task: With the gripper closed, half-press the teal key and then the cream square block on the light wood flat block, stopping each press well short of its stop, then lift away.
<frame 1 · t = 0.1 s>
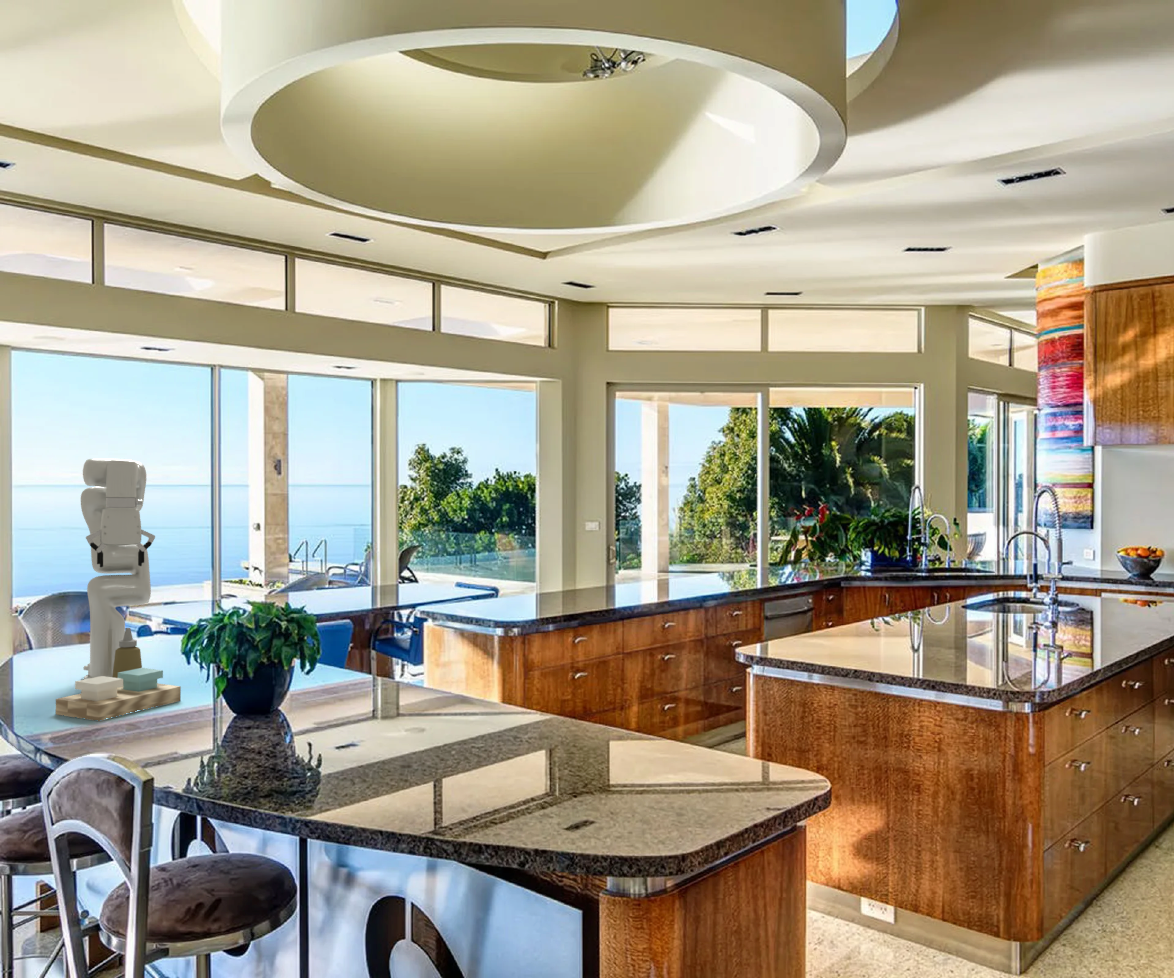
hand: (120, 566, 271), 37 cm above the kitchen island, tool pointing down, fingers open, 9 cm apart
squeeze bottle: (127, 690, 285), on the kitchen island
teal key: (140, 680, 269), point 6 cm above the kitchen island, slide at 0.0 cm
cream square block: (99, 689, 257), point 6 cm above the kitchen island, slide at 0.0 cm
light wood flat block: (120, 707, 263), on the kitchen island
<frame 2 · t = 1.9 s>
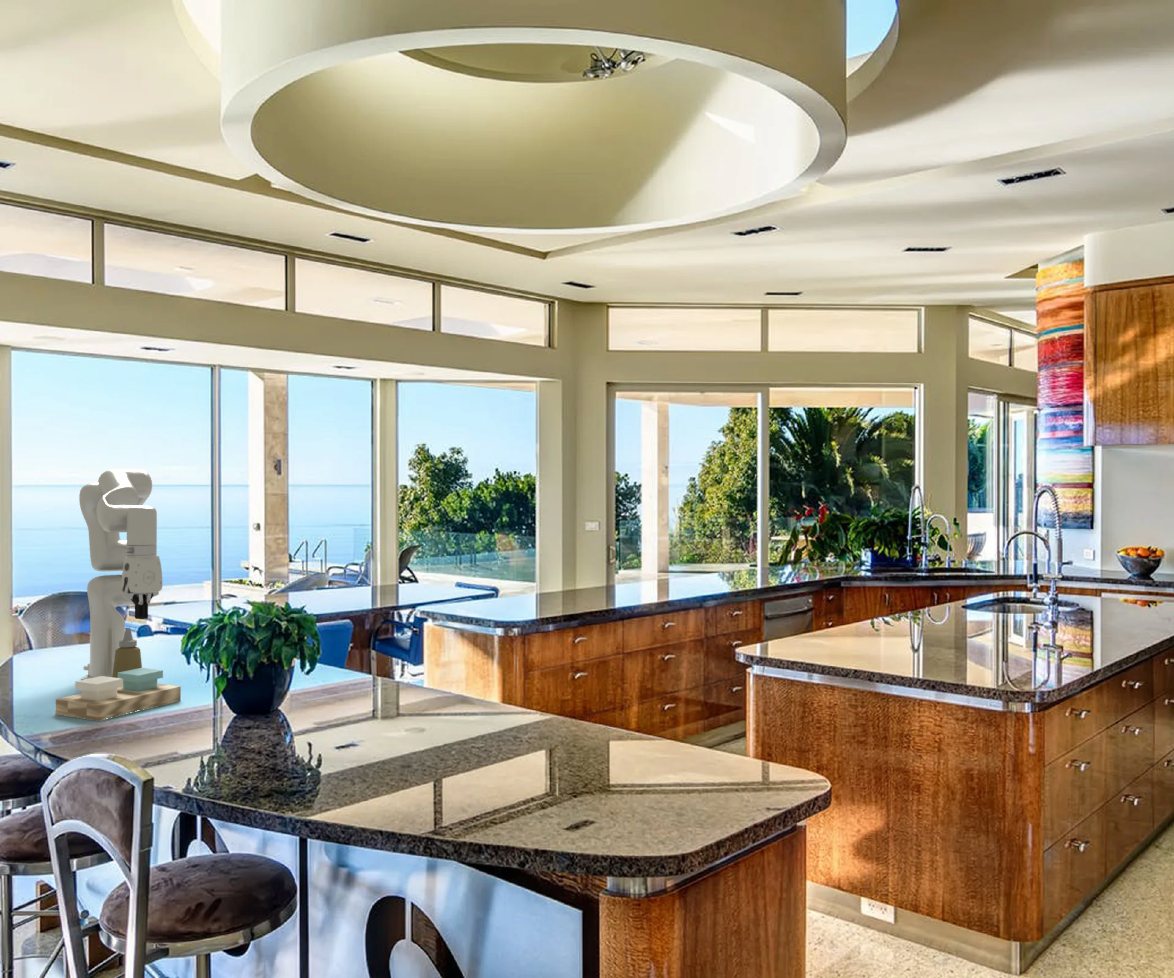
hand: (141, 618, 269), 23 cm above the kitchen island, tool pointing down, fingers closed
nothing on the kitchen island moved.
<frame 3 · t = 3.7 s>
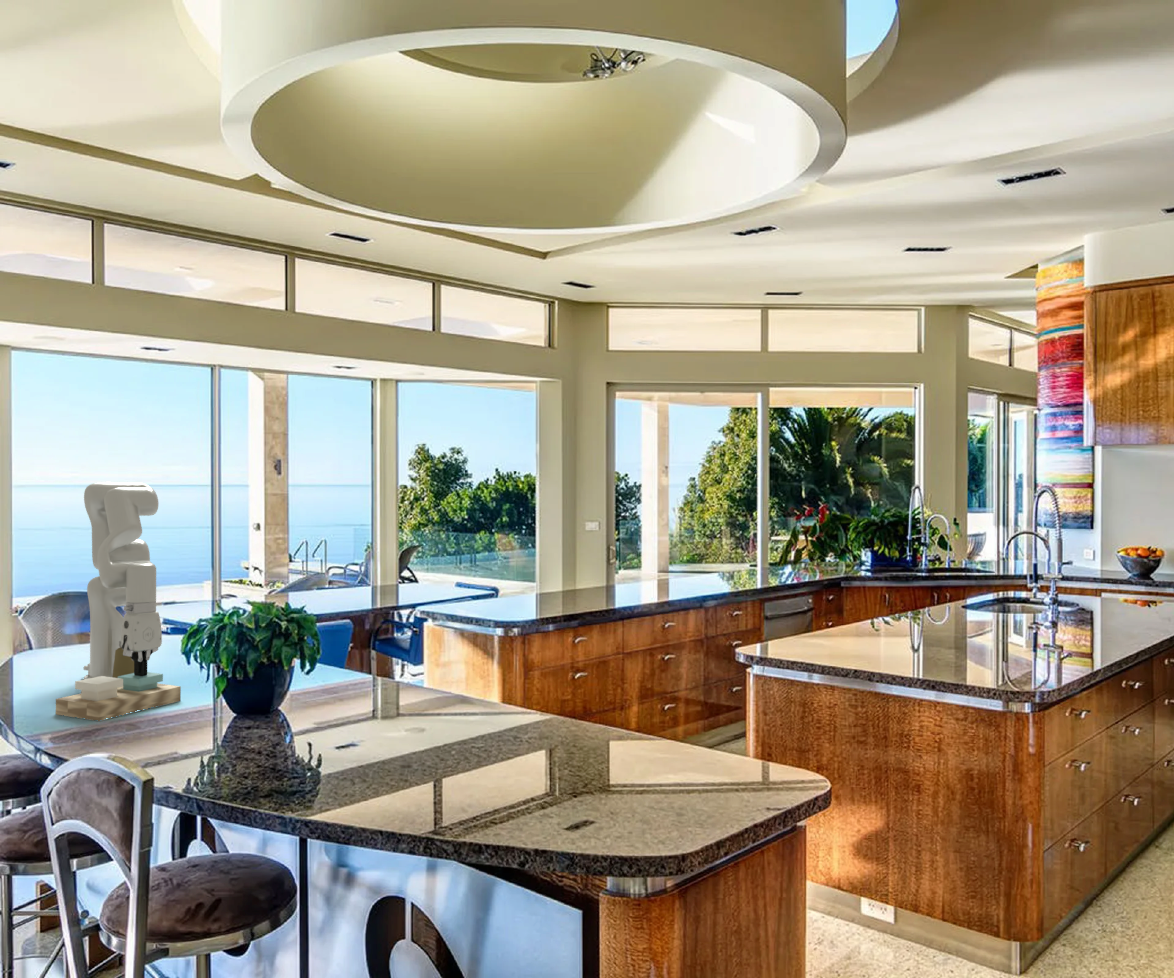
hand: (140, 675, 269), 8 cm above the kitchen island, tool pointing down, fingers closed
teal key: (140, 684, 269), point 5 cm above the kitchen island, slide at 1.0 cm, touching gripper
everything else where it was.
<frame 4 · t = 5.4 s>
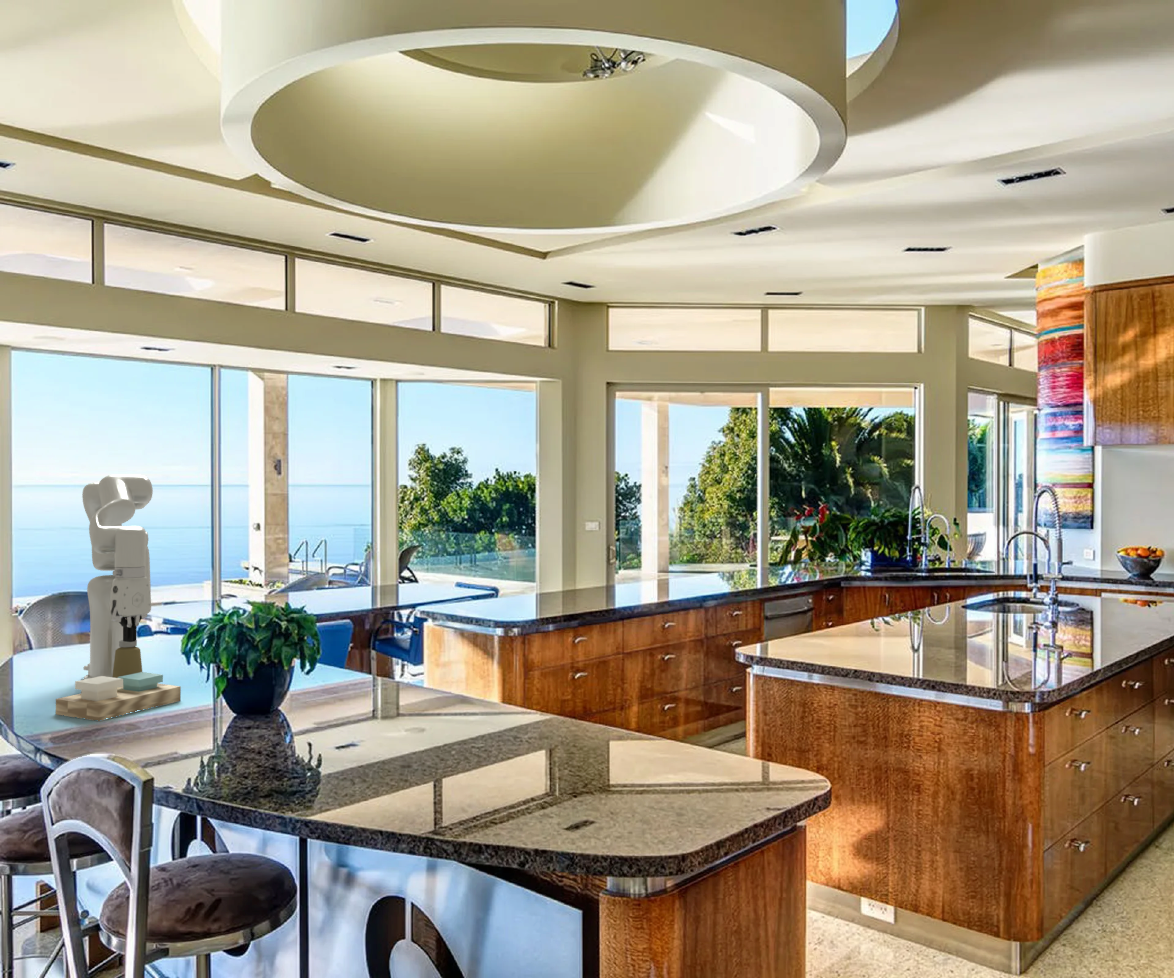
hand: (129, 641, 266), 17 cm above the kitchen island, tool pointing down, fingers closed
teal key: (140, 684, 269), point 5 cm above the kitchen island, slide at 1.2 cm
everything else where it was.
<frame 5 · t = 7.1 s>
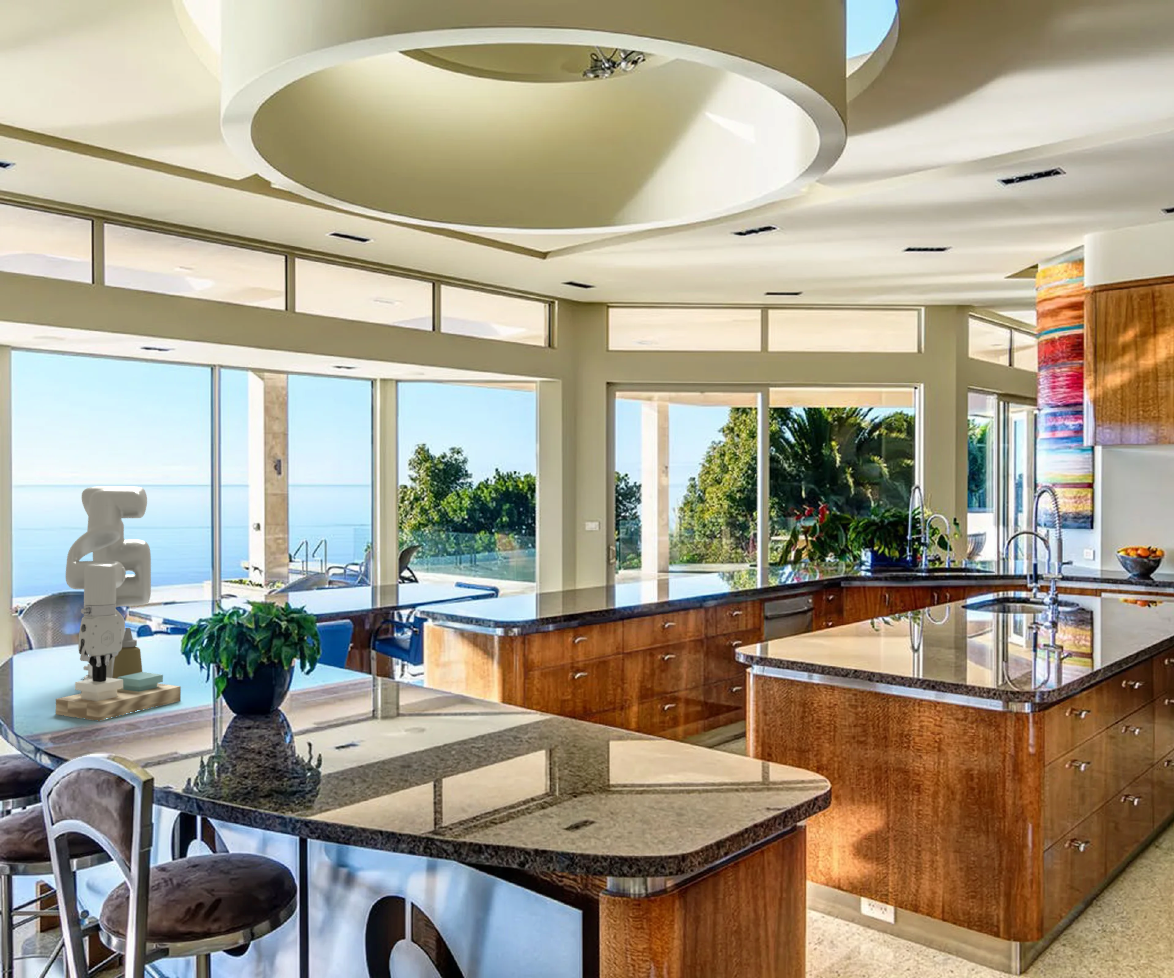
hand: (99, 680, 257), 8 cm above the kitchen island, tool pointing down, fingers closed
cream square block: (99, 690, 257), point 6 cm above the kitchen island, slide at 0.2 cm, touching gripper
everything else where it was.
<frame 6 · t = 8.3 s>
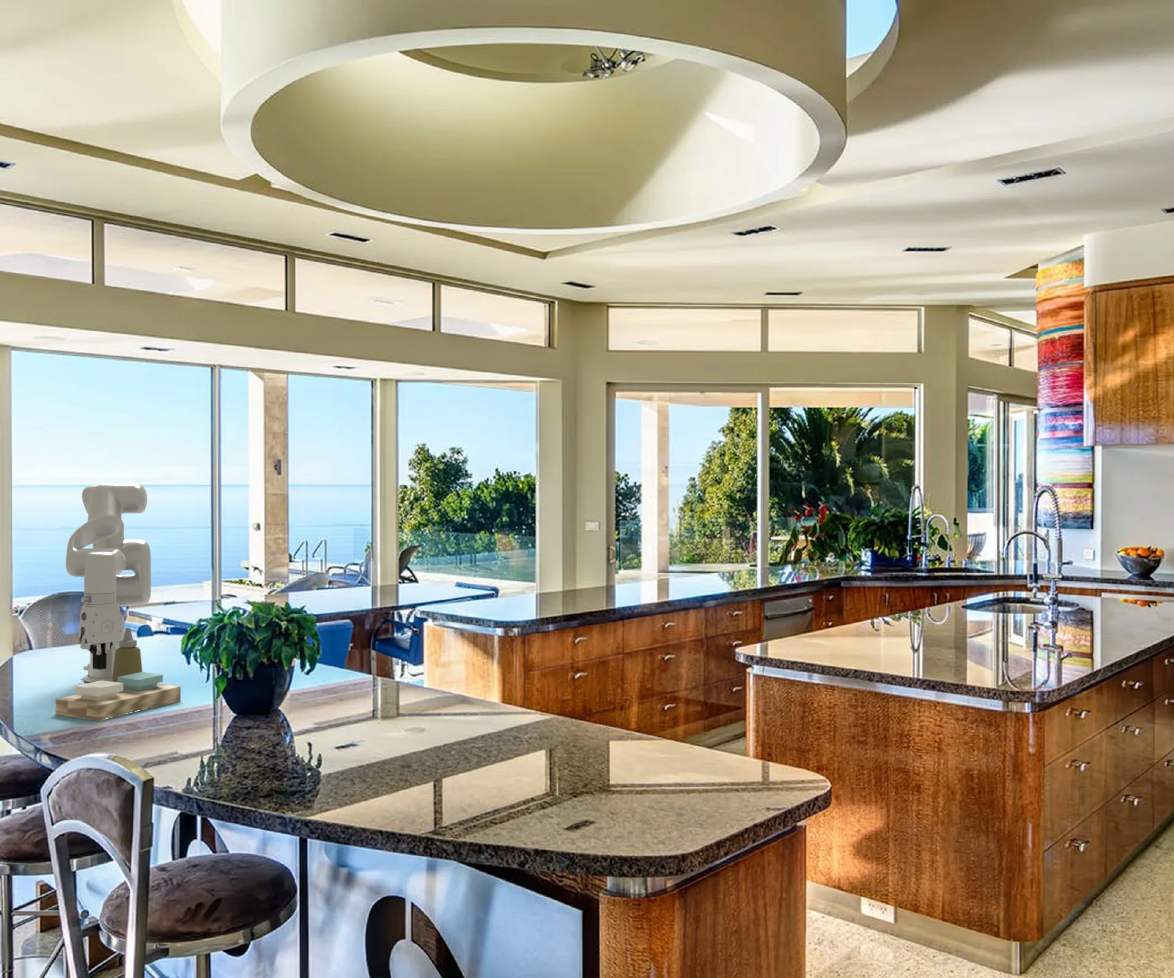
hand: (99, 668, 258), 11 cm above the kitchen island, tool pointing down, fingers closed
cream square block: (99, 693, 257), point 5 cm above the kitchen island, slide at 1.2 cm
everything else where it was.
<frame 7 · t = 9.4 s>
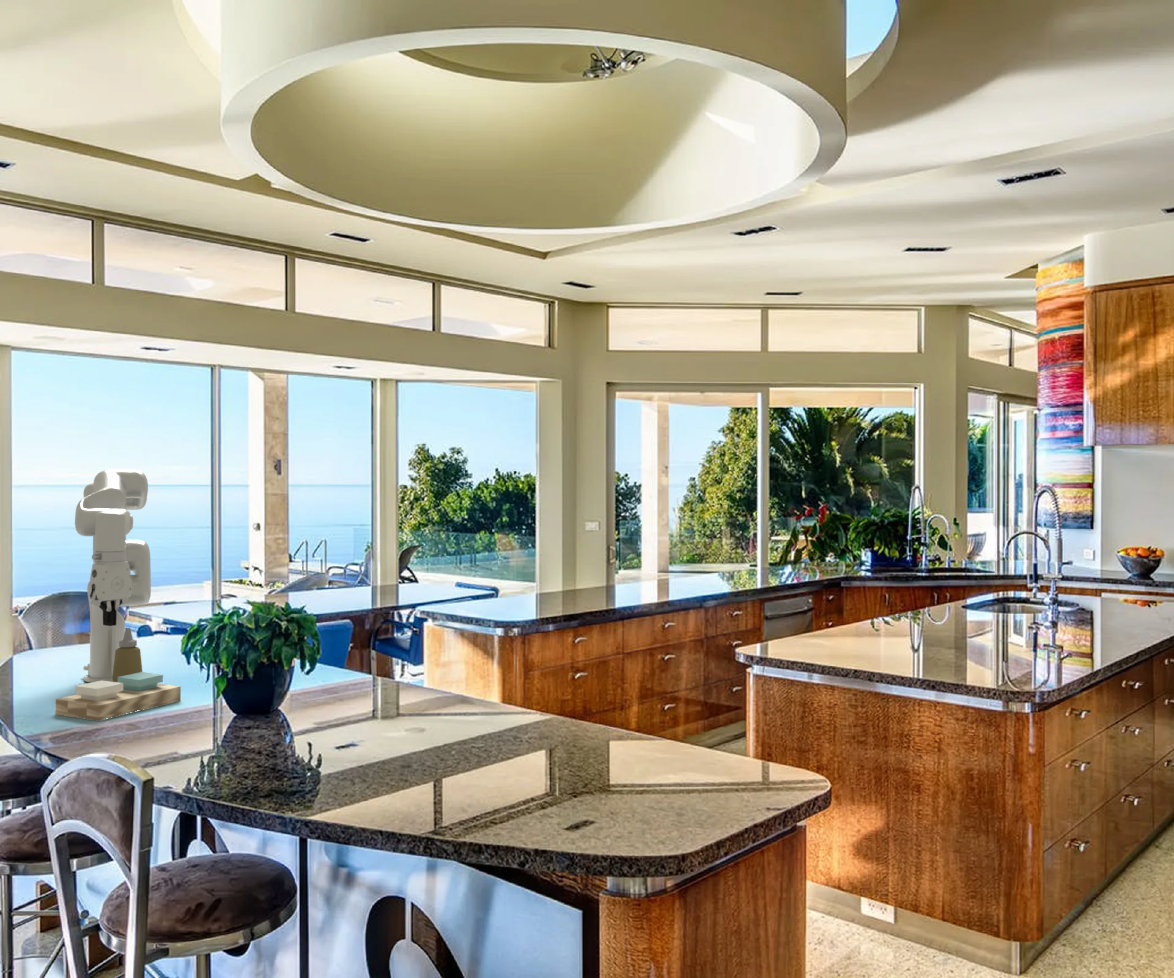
hand: (109, 625, 265), 22 cm above the kitchen island, tool pointing down, fingers closed
nothing on the kitchen island moved.
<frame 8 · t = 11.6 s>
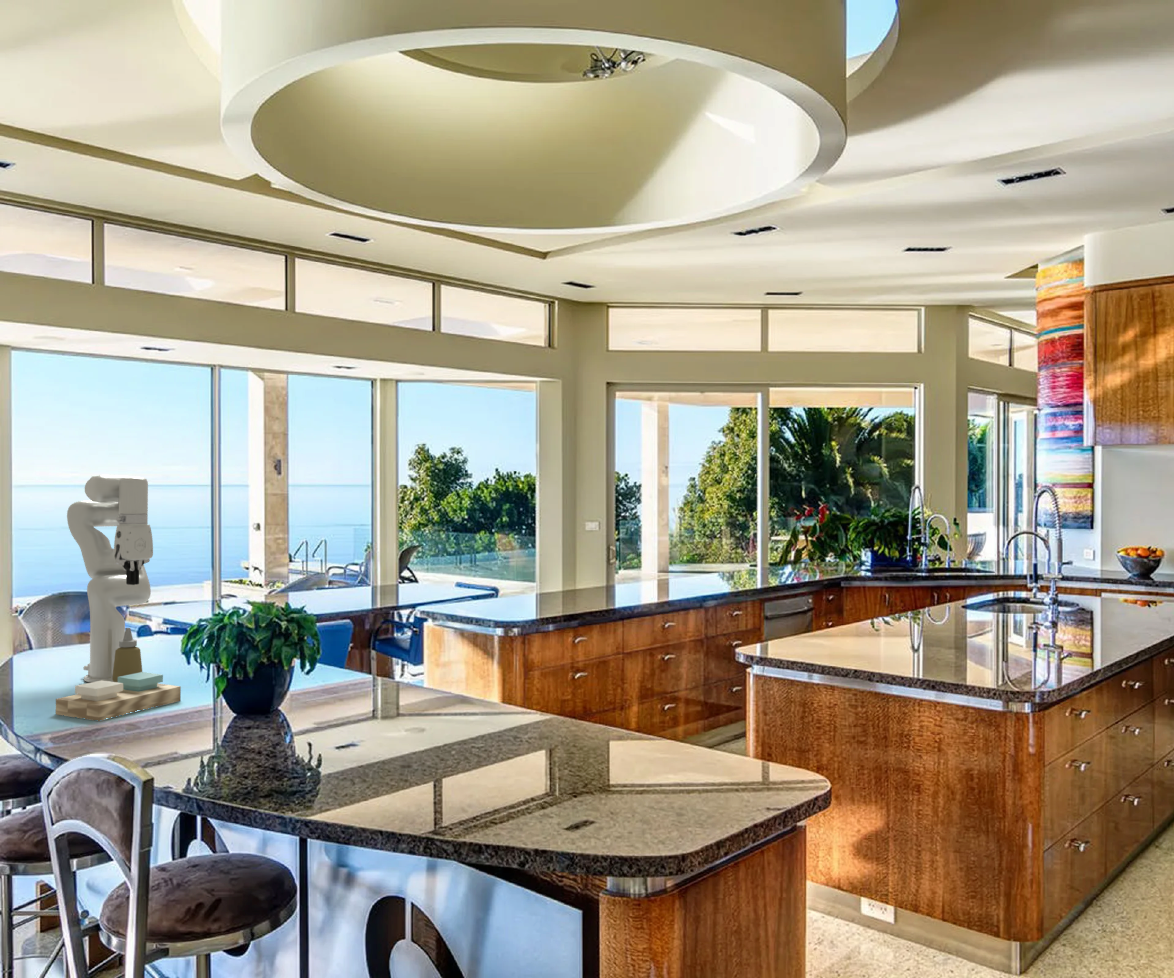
hand: (132, 584, 281), 31 cm above the kitchen island, tool pointing down, fingers closed
nothing on the kitchen island moved.
at the end: teal key slide at 1.2 cm; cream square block slide at 1.2 cm; squeeze bottle moved 0.2 cm from its start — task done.
